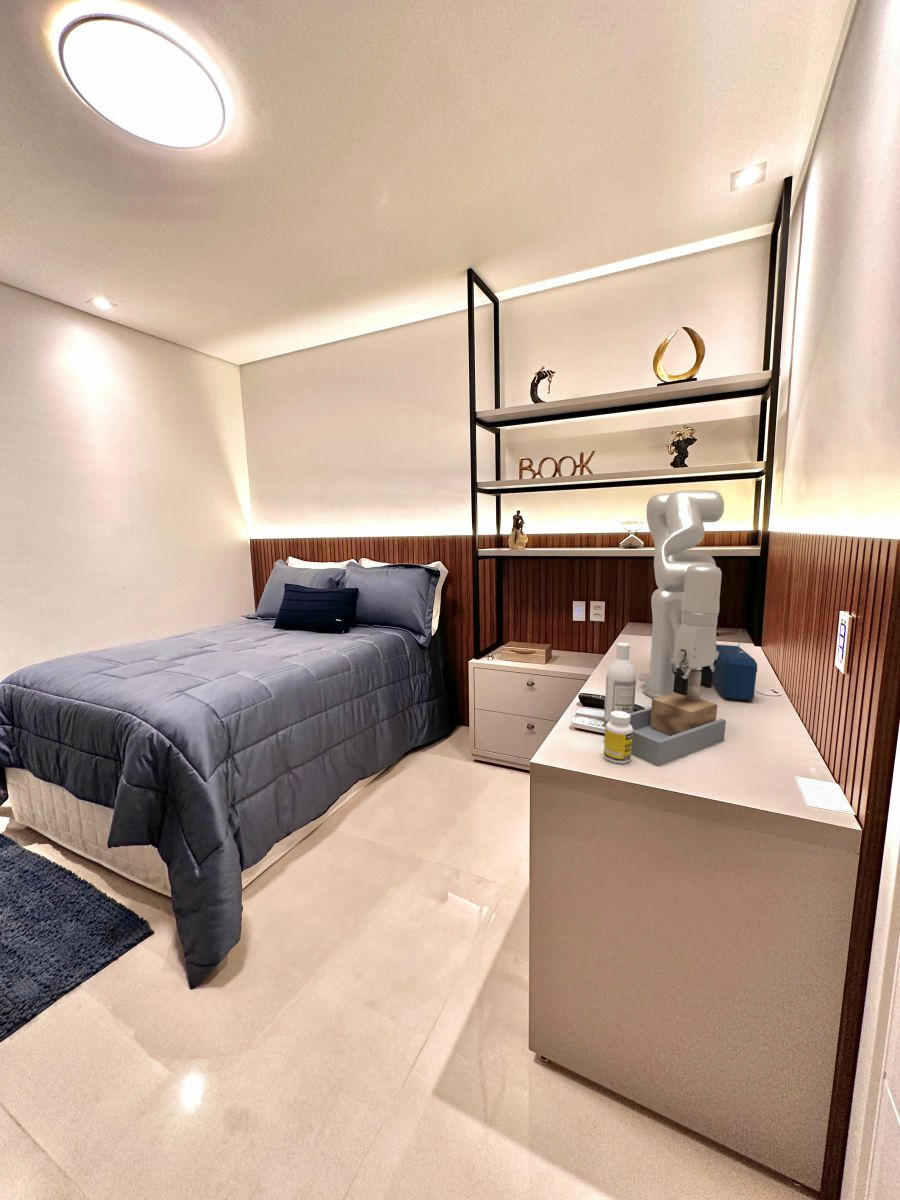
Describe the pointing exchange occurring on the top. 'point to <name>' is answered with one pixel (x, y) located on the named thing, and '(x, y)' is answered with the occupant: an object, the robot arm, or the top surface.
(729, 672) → the radio
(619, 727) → the supplement bottle
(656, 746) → the bay
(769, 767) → the top surface
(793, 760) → the top surface
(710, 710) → the block
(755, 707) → the top surface
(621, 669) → the bath foam
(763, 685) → the top surface
